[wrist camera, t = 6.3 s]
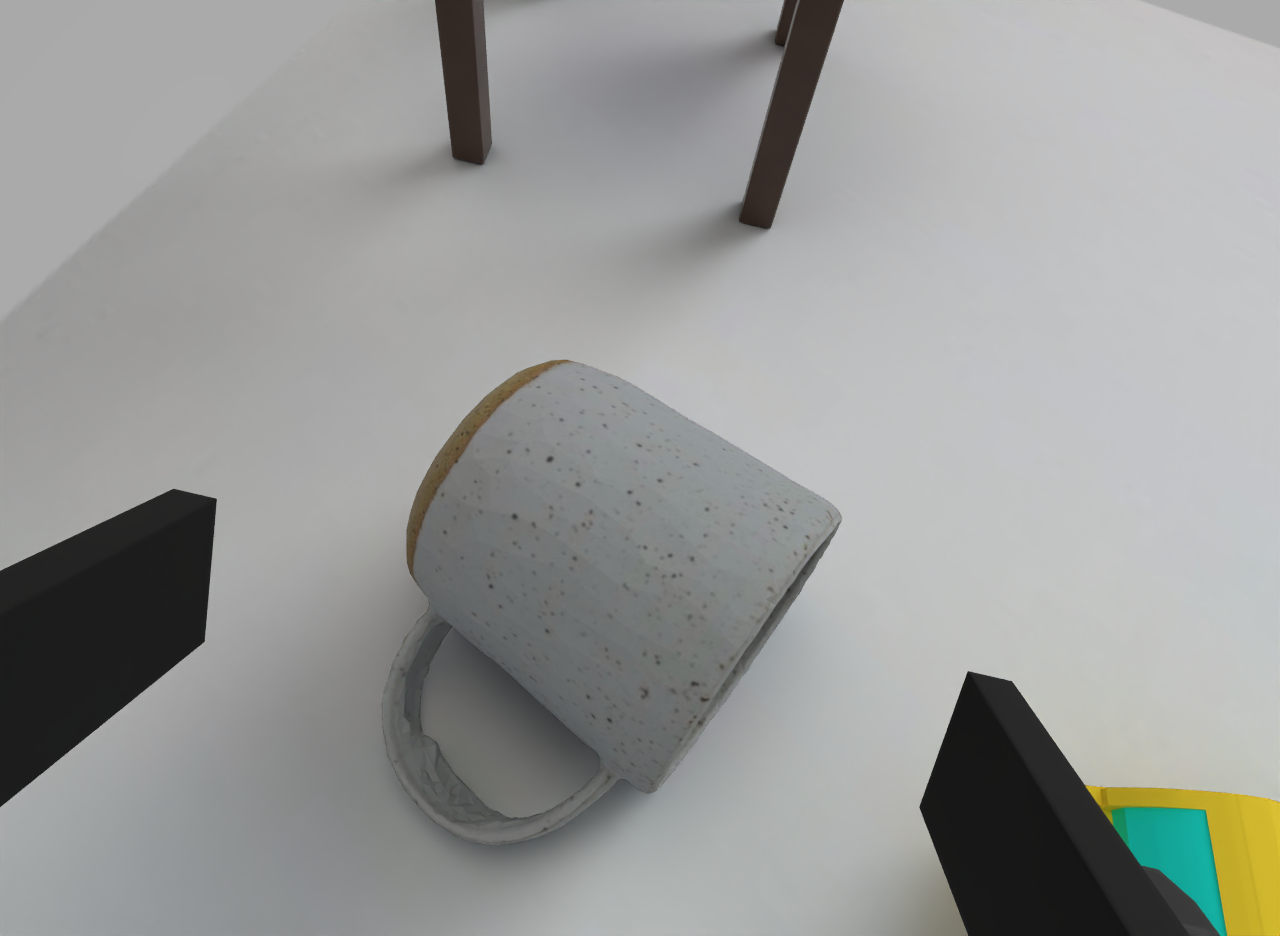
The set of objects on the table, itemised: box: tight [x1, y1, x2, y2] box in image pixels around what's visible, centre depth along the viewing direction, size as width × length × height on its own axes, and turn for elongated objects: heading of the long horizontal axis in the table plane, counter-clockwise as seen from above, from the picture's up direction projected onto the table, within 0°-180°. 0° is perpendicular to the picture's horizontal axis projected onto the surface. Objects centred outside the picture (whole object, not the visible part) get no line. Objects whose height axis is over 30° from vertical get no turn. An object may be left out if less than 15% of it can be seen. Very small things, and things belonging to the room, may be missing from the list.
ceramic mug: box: [382, 360, 842, 845], centre depth 20 cm, size 11×8×8 cm
